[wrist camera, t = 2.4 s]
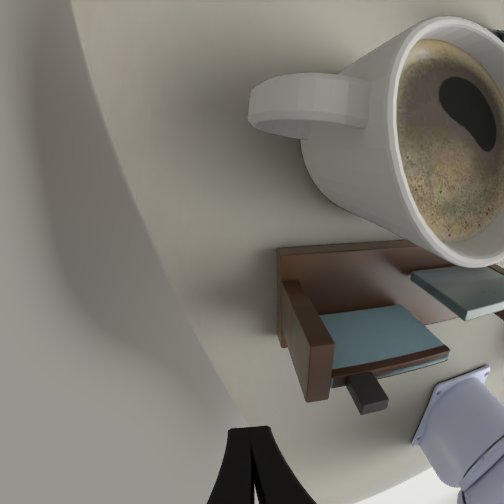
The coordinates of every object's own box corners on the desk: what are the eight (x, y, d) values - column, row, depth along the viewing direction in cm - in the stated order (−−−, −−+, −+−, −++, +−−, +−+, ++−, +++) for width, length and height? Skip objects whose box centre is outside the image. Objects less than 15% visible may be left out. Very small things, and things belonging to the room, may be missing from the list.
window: (464, 305, 21) (526, 353, 13) (277, 335, 20) (304, 425, 12) (477, 235, 19) (552, 269, 12) (276, 247, 18) (312, 311, 11)
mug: (447, 151, 17) (565, 164, 8) (360, 251, 19) (460, 329, 9) (341, 24, 14) (428, -57, 5) (231, 122, 16) (240, 73, 6)
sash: (399, 312, 18) (468, 382, 11) (302, 326, 18) (343, 420, 11) (401, 303, 18) (472, 371, 11) (302, 316, 18) (346, 408, 10)
